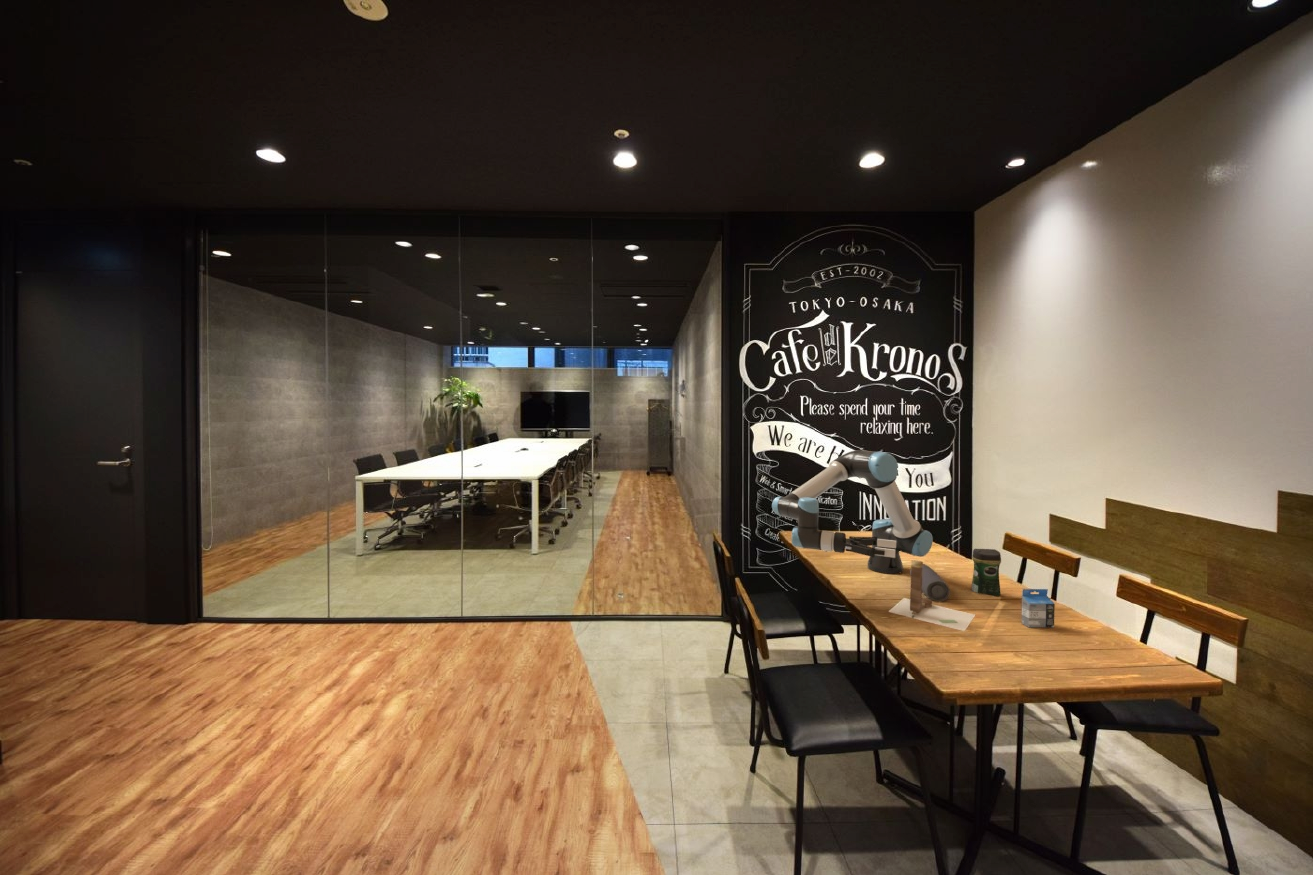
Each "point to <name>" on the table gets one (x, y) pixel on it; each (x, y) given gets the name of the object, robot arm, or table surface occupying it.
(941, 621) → the white flat sheet
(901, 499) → the robot arm
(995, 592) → the coffee jar
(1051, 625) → the label tape box
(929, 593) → the bluetooth speaker
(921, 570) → the wooden l-shaped block
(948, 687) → the table surface
